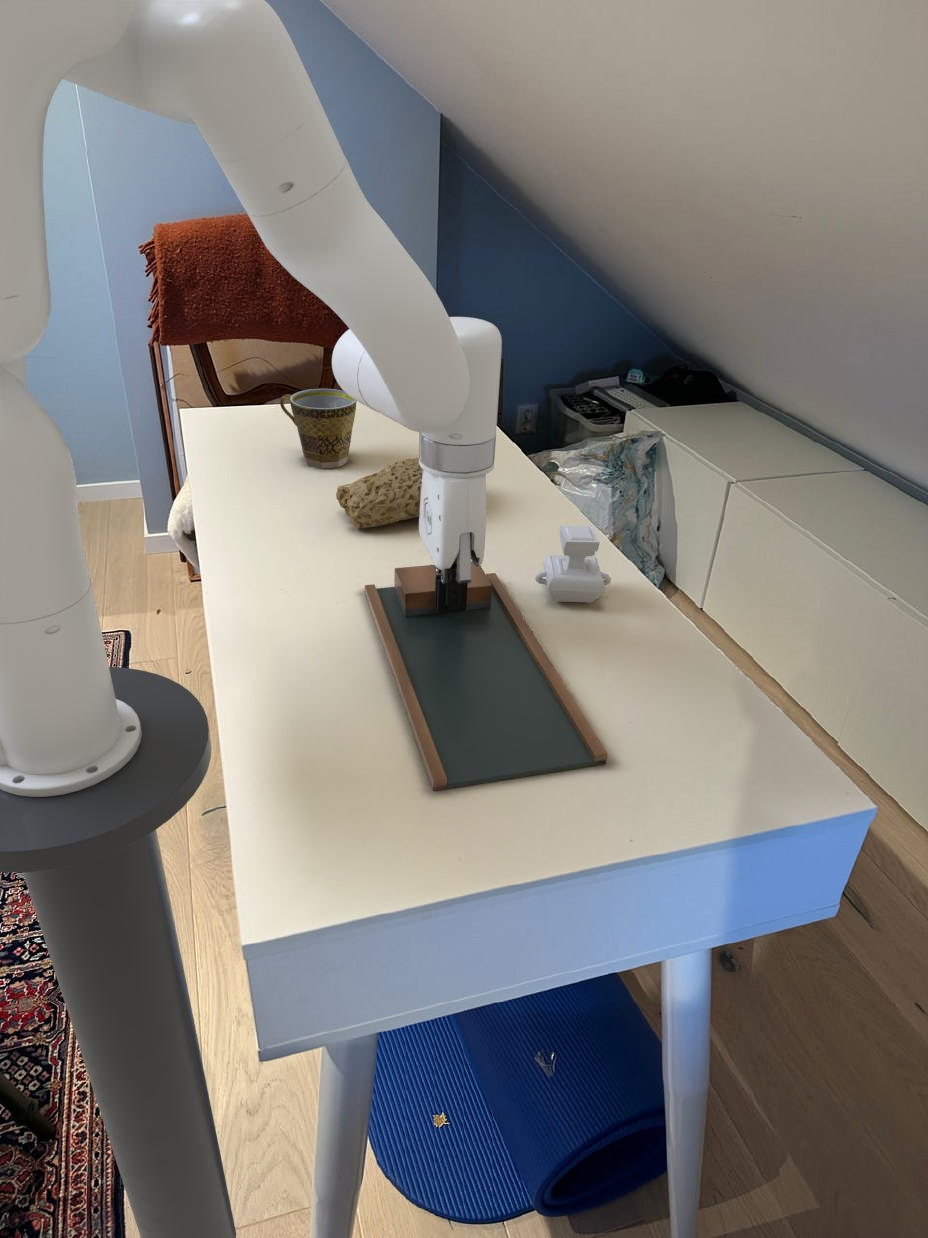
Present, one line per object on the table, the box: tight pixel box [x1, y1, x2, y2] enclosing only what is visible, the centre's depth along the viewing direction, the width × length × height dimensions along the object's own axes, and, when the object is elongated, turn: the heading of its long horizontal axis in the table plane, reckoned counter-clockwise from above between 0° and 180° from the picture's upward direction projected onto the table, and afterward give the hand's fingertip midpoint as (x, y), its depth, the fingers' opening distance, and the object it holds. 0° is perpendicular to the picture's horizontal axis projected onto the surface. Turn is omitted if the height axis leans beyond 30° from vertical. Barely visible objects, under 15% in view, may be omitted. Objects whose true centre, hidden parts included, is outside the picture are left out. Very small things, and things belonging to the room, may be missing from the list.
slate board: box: [364, 572, 608, 792], centre depth 89 cm, size 16×34×1 cm, turn 15°
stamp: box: [534, 525, 612, 603], centre depth 101 cm, size 9×7×8 cm
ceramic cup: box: [279, 388, 358, 470], centre depth 133 cm, size 13×10×10 cm
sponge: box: [335, 457, 423, 529], centre depth 120 cm, size 13×8×20 cm
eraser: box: [393, 560, 492, 617], centre depth 99 cm, size 10×6×3 cm, turn 105°
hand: (450, 608), depth 95 cm, fingers closed
